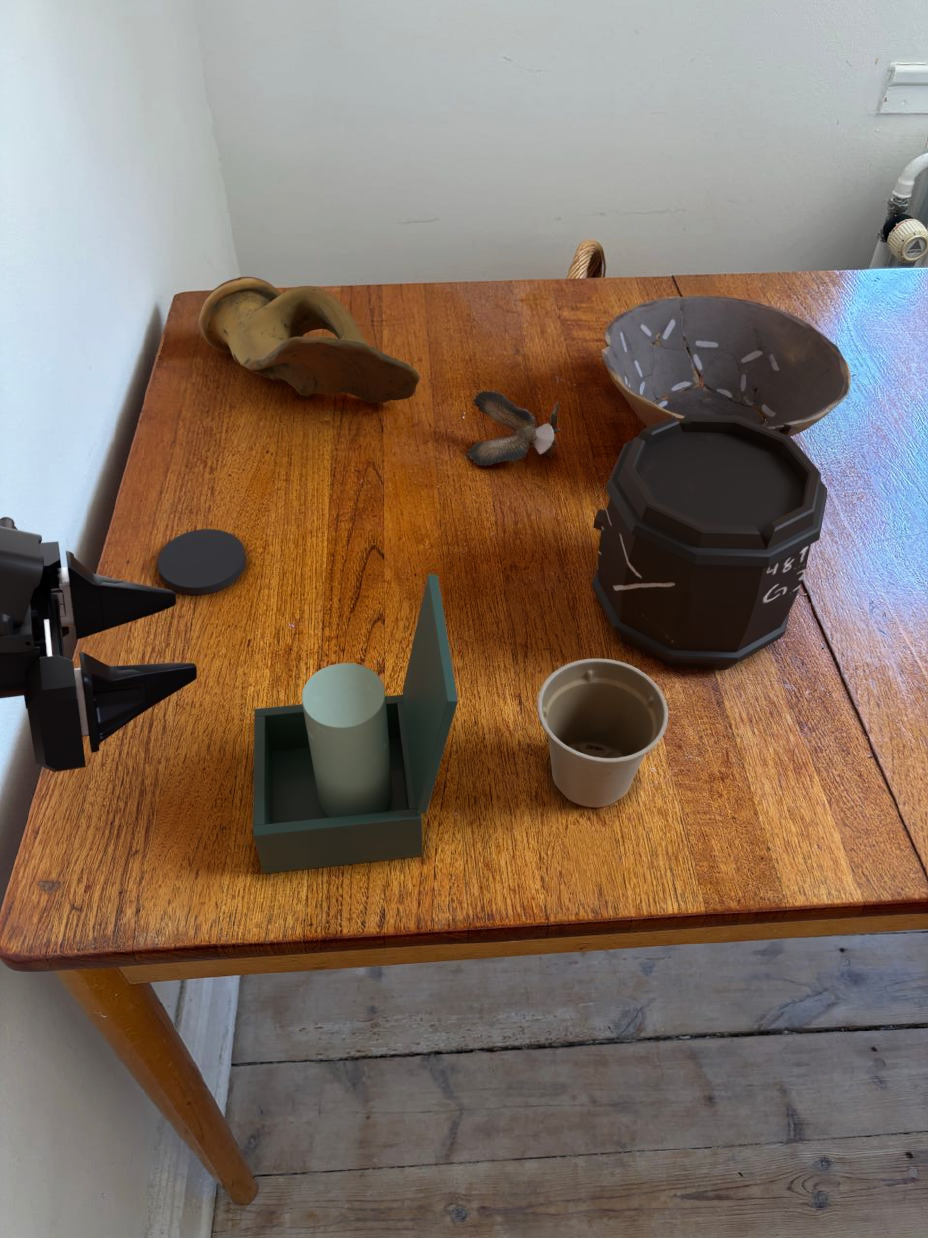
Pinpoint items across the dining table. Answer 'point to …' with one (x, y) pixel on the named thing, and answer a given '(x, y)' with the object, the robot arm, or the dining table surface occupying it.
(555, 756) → the flower pot
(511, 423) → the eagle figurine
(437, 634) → the box lid
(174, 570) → the rubber mat
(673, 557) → the black polygonal canister
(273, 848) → the box
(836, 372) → the bowl
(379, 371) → the brown looped sculpture
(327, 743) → the pale green cylinder
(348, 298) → the dining table surface
